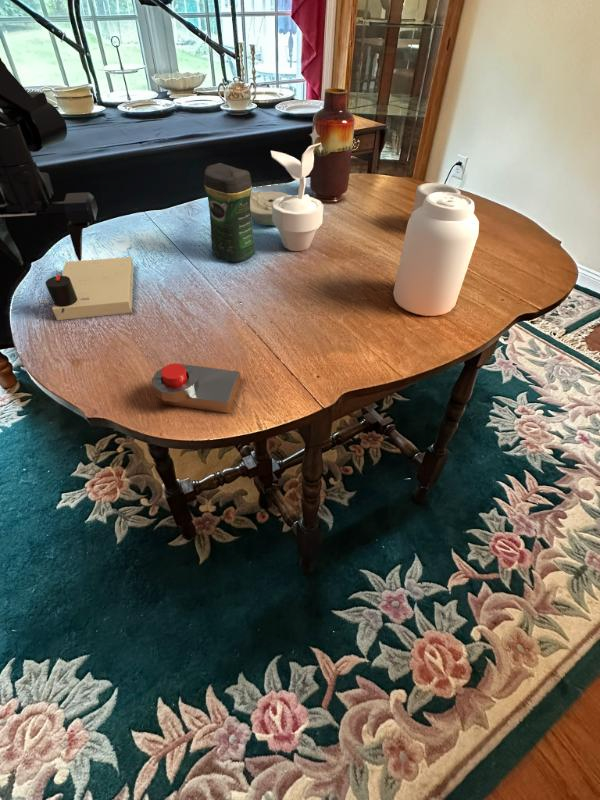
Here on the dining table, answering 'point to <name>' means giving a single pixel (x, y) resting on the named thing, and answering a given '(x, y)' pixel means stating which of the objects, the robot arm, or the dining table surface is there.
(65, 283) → the knob
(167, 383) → the button
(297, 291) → the dining table surface
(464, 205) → the white lidded jar
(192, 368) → the block
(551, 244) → the dining table surface
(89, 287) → the beige knob base panel
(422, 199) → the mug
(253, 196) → the oil lamp
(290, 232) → the potted plant
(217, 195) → the coffee jar
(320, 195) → the vase
